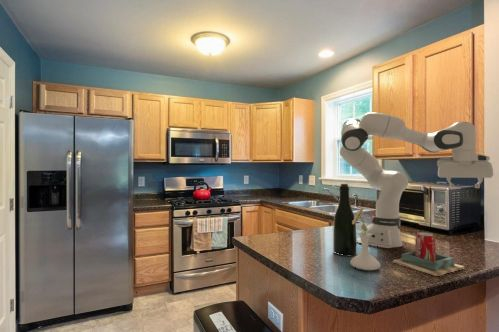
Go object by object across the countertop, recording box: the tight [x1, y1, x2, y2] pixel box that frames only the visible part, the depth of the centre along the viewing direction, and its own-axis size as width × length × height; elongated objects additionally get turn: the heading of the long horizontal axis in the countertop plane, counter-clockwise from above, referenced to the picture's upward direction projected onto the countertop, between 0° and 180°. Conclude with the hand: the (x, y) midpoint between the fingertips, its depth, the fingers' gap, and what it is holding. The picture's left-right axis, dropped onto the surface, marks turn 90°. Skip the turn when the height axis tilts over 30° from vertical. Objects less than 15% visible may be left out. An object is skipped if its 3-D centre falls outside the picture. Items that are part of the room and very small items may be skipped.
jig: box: [392, 250, 465, 276], centre depth 117 cm, size 18×18×4 cm
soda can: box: [415, 231, 437, 262], centre depth 118 cm, size 7×7×12 cm
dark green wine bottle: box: [332, 183, 358, 256], centre depth 136 cm, size 10×10×33 cm
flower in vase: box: [349, 206, 381, 271], centre depth 115 cm, size 13×11×25 cm
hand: (464, 187), depth 131 cm, fingers open, 8 cm apart
